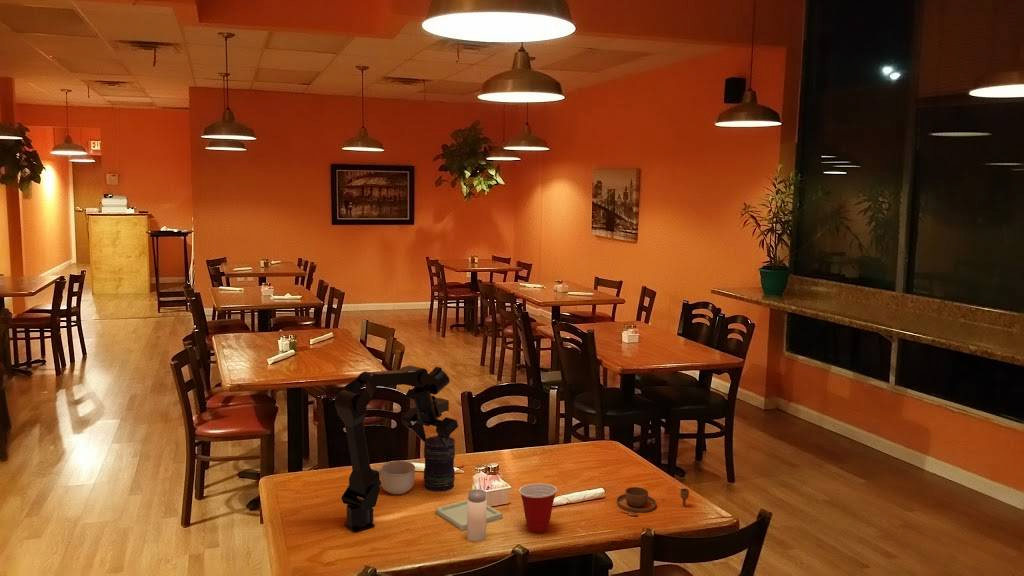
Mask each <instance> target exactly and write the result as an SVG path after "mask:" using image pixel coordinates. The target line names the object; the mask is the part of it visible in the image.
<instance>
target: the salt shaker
mask: <svg viewBox="0 0 1024 576" xmlns="http://www.w3.org/2000/svg"><path fill="white" fill-rule="evenodd" d="M467 496H468V497H467V499H466V500H467V529H466V539H467V540H468V541H470V542H474V541H478V542H483V541H485V540H486V538H487V523H486V504H487V503H488V502H487V500H488V499H487V492H486V490H483V489H480V488H475V489H471V490H469V491H468V495H467ZM482 540H483V541H482Z"/></svg>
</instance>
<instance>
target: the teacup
mask: <svg viewBox="0 0 1024 576" xmlns="http://www.w3.org/2000/svg"><path fill="white" fill-rule="evenodd" d="M371 469H373V470H376V471H378V472H379V475H380V482H381V485H380V487H382V488H383V490H385V492H387V493H388V494H391V495H397V494H398V495H403V494H407V492H409V491H410V490H411V489H412V488H413V487H414V484H415V478H416V477H415V474H416V473H415V472H416V466H415V464H413V463H412V462H410V461H406V460H391V461H386V462H384V463H383V464H382V465H381V466H380V467H377V466H376V467H373V468H371Z"/></svg>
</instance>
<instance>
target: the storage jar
mask: <svg viewBox="0 0 1024 576" xmlns="http://www.w3.org/2000/svg"><path fill="white" fill-rule="evenodd" d="M423 443H424V447H423V458H424V468H423V482H424V483H423V487H425V488H424V489H425V490H426V491H430V492H433V493H434V492H435V493H437V492H438V493H440V492H442V491H443V492H447V491H450V490H451V491H452V490H453V489H454V487H455V478H456V477H455V476H456V471H455V465H454V463H455V461H454V460H455V457H456V448H455V447H456V446H455V444H456V440H455V439H454V438H453V437H451V436H450V438H449V445H448V447H447V448H445V447H444V446H443V444H442V442H441V441H440V439H439V438H438V436H437V435H433V436H429V437H426V440H425V441H423Z"/></svg>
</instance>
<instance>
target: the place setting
mask: <svg viewBox="0 0 1024 576" xmlns="http://www.w3.org/2000/svg"><path fill="white" fill-rule="evenodd" d="M624 491H625V492H624V494H620V495H619V496H617V498H616V503H617V505H618V506H619V508H621V509H622V510H624V511H621V512H622V513H623V514H626V515H628V516H630V515H629V513H631V514H633V515H631V516H630V517H637V516H638V515H639V514H638V512H642V513H648V511H649V512H651V511H653V510H654V509H656V506H657V501H656V500H655V499H654V498H653V497H652V496H649V491H648V490H647V489H646V488H643V487H638V486H631V487H627V488H626V489H625V490H624ZM689 495H690V490H689V489H688V488H684V487H683V488H680V497H681V499H682V503H681V504H682V506H681V508H683V507H685V508H684V509H686V508H687V506H686V504H687V502H686V500H687V499H689ZM624 499H625V501H626V502H627V503H628V504H629V505H630V506H631V507H629V506H626V505H624V504H621V502H622V501H624ZM663 499H664V500H663V501H665V500H666V498H663ZM620 501H621V502H620ZM648 501H650V502H652V504H653V505H654V506H653V505H652V504H651V505H652V506H651V507H647V508H641V507H643V506H644V505H645V504H647V502H648ZM619 502H620V503H619ZM650 502H649V503H650ZM627 510H628V512H626V511H627ZM630 511H632V512H630Z"/></svg>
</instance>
